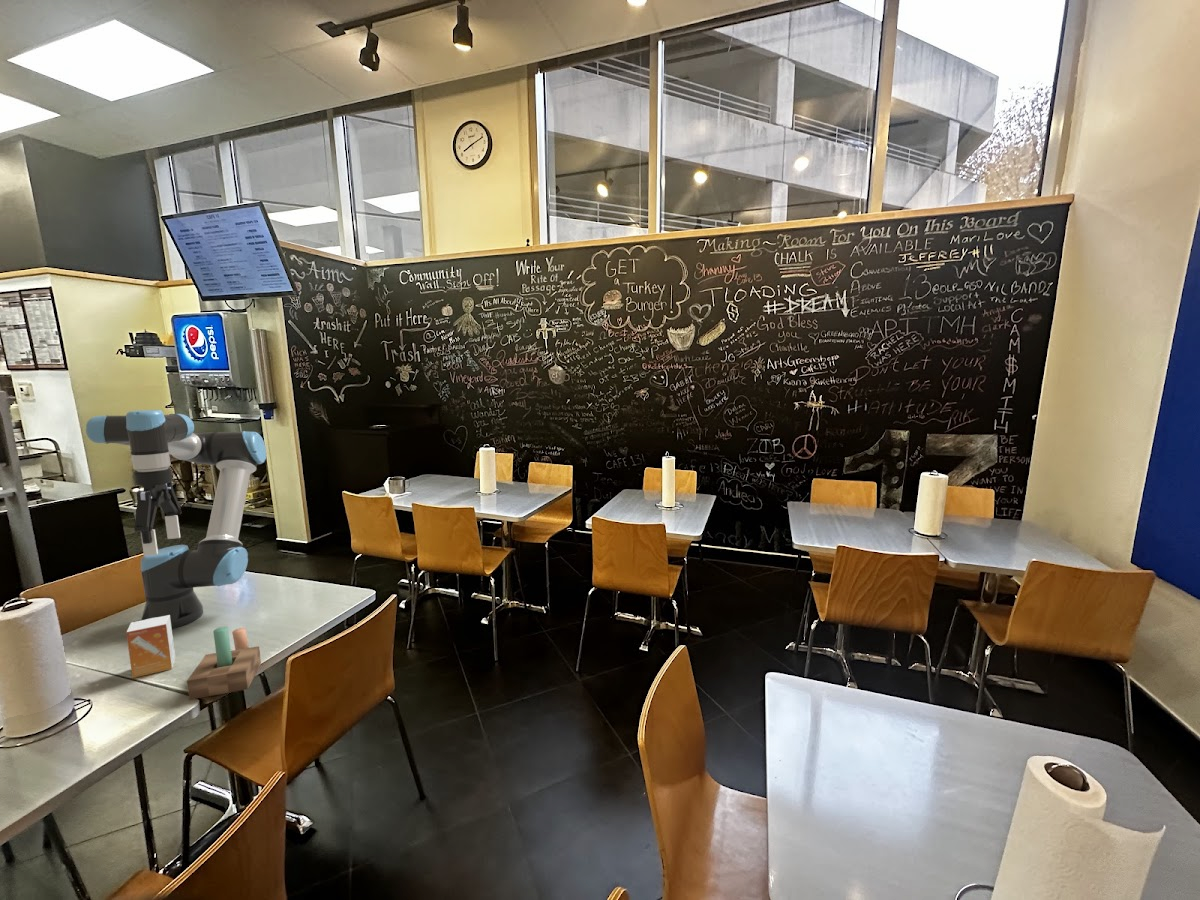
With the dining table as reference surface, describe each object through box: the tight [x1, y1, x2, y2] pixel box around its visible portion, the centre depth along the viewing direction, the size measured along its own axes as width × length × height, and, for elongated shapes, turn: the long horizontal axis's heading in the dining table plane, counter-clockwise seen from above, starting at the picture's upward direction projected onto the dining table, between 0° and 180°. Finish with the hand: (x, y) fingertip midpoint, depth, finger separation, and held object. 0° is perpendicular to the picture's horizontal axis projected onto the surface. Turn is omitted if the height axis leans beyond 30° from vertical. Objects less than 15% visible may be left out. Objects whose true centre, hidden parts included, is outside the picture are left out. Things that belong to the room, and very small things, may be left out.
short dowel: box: [232, 627, 250, 650], centre depth 142 cm, size 3×3×7 cm
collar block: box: [186, 646, 262, 700], centre depth 130 cm, size 12×12×5 cm
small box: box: [125, 615, 176, 679], centre depth 135 cm, size 8×6×13 cm
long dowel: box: [213, 626, 232, 667], centre depth 129 cm, size 3×3×14 cm
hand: (163, 546), depth 137 cm, fingers open, 13 cm apart
